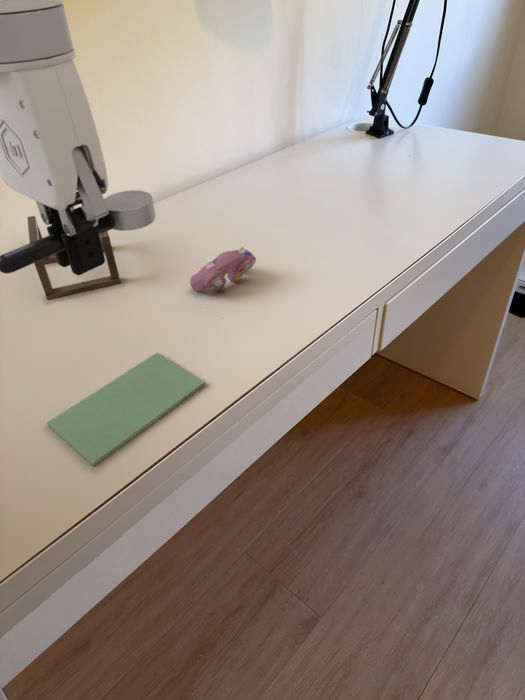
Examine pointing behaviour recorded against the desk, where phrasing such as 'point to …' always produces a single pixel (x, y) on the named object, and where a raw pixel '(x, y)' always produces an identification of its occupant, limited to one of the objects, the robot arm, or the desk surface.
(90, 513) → the desk surface
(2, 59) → the robot arm
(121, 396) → the mat
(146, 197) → the grey saucepan
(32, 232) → the rack
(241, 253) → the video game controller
